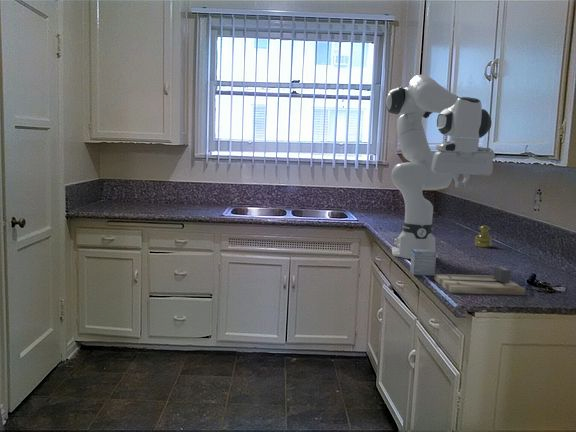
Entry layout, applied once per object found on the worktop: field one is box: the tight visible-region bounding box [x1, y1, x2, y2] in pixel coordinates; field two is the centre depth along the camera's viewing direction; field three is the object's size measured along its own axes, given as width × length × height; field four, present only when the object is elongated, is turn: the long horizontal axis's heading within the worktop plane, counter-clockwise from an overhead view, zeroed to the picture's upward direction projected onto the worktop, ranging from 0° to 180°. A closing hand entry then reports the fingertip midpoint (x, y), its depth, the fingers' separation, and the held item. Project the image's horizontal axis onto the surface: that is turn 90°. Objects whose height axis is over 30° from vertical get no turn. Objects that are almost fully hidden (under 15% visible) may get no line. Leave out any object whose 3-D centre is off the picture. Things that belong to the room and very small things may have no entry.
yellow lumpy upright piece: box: [474, 224, 493, 248], centre depth 243 cm, size 7×7×10 cm
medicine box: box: [409, 249, 438, 277], centre depth 184 cm, size 8×4×9 cm, turn 92°
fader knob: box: [493, 266, 512, 282], centre depth 170 cm, size 5×3×4 cm, turn 2°
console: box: [433, 273, 526, 296], centre depth 170 cm, size 16×24×2 cm, turn 92°
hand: (459, 187), depth 175 cm, fingers closed
